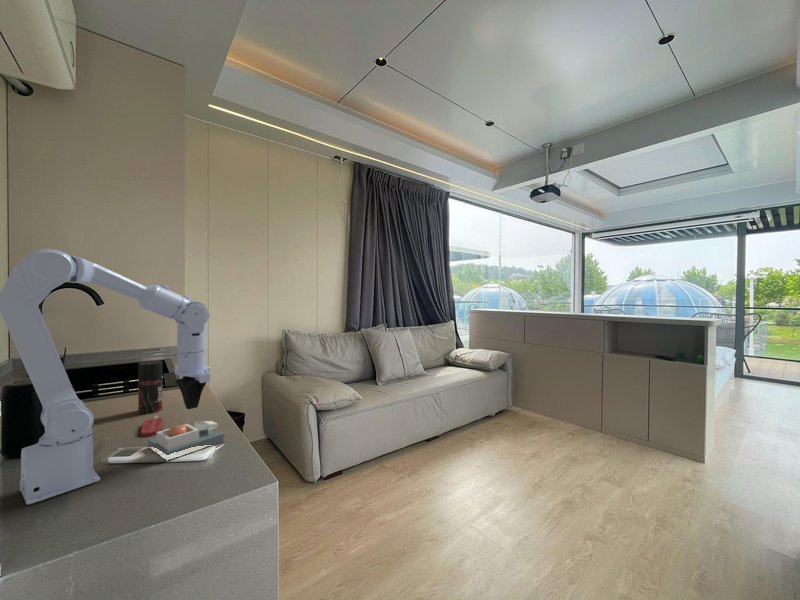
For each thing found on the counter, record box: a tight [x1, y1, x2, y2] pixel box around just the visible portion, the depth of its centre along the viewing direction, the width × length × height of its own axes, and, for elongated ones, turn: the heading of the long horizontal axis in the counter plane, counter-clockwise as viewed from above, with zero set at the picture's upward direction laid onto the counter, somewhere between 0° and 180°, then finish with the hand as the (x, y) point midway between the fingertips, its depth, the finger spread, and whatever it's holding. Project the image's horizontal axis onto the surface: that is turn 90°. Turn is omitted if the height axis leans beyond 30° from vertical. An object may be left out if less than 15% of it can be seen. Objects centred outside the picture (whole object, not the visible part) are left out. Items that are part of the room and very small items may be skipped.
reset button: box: [169, 424, 186, 437], centre depth 76 cm, size 3×3×3 cm
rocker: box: [194, 420, 219, 430], centre depth 82 cm, size 4×4×1 cm
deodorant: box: [137, 360, 163, 415], centre depth 102 cm, size 6×6×15 cm
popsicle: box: [140, 414, 165, 438], centre depth 90 cm, size 4×2×15 cm
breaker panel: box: [147, 423, 224, 455], centre depth 79 cm, size 12×11×4 cm
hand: (191, 407), depth 79 cm, fingers closed
